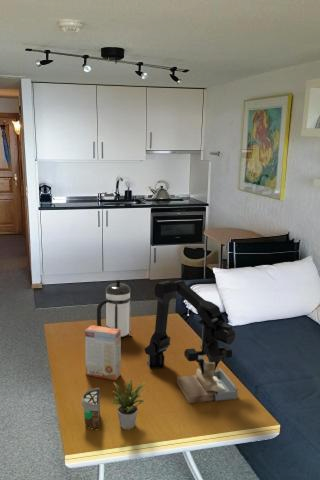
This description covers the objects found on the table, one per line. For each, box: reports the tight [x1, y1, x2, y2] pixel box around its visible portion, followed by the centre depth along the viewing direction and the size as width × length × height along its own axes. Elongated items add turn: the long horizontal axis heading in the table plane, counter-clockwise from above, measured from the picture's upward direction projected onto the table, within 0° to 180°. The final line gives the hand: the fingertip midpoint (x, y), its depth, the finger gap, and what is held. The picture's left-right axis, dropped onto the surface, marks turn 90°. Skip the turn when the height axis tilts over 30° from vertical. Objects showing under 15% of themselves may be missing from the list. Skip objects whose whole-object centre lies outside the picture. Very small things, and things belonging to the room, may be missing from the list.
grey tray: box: [212, 367, 239, 402], centre depth 186 cm, size 9×18×4 cm, turn 15°
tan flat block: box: [176, 374, 215, 404], centre depth 183 cm, size 10×16×2 cm, turn 15°
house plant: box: [110, 378, 148, 430], centre depth 157 cm, size 14×14×16 cm
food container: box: [80, 387, 101, 430], centre depth 161 cm, size 12×6×10 cm, turn 5°
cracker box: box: [84, 324, 122, 381], centre depth 193 cm, size 14×6×21 cm, turn 71°
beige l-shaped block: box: [195, 359, 217, 391], centre depth 183 cm, size 4×13×9 cm, turn 14°
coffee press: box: [96, 279, 133, 338], centre depth 232 cm, size 17×16×30 cm
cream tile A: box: [214, 383, 226, 393], centre depth 182 cm, size 4×4×2 cm
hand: (207, 372), depth 183 cm, fingers closed on beige l-shaped block, 4 cm apart
